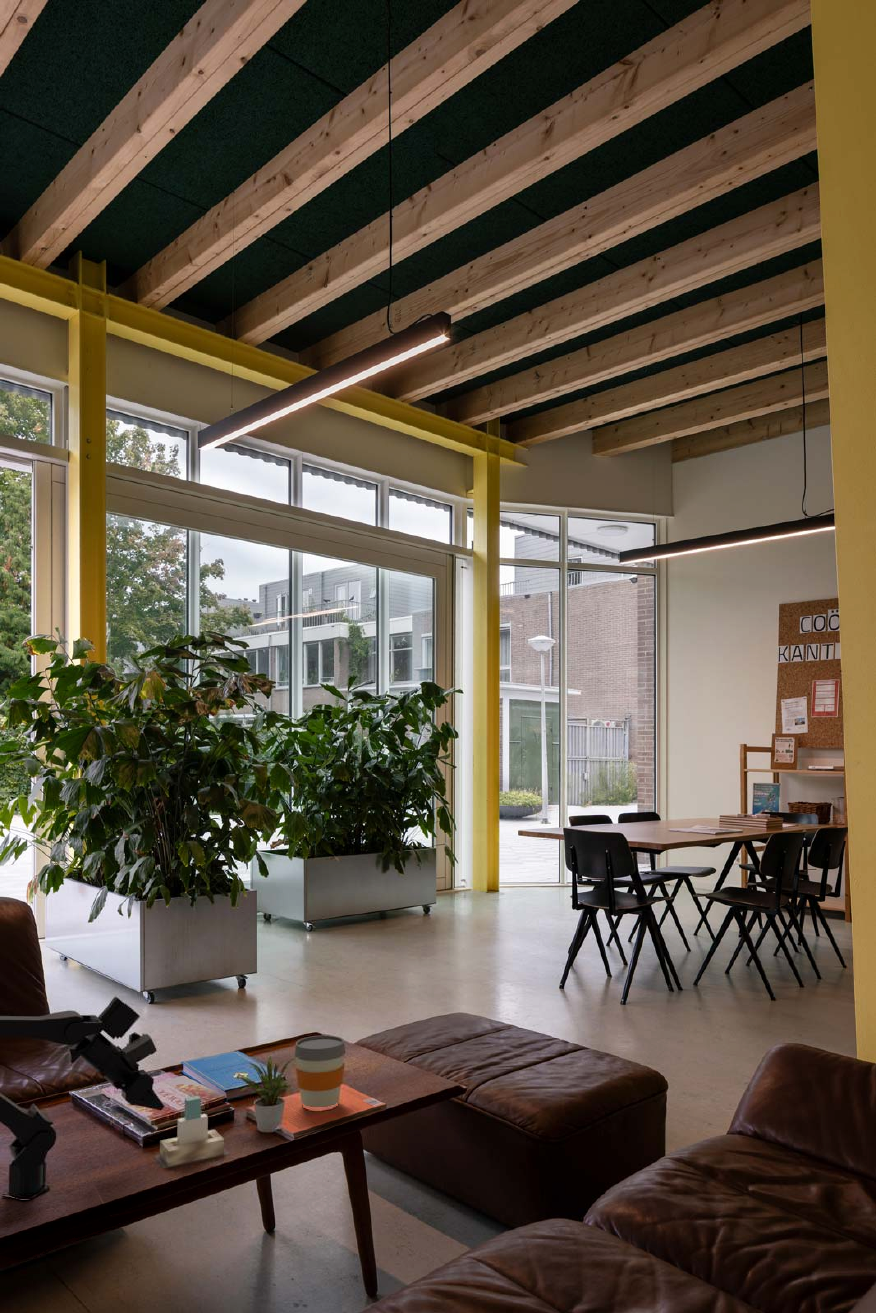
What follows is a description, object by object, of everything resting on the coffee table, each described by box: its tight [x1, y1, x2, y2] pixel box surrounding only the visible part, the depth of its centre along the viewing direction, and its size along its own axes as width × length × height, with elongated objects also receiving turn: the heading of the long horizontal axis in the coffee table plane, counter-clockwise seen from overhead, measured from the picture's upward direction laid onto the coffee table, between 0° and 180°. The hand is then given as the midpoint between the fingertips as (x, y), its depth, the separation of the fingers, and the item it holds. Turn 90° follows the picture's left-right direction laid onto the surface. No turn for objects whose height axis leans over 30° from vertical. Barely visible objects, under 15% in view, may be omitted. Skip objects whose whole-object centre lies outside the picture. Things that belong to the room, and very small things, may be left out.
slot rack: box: [159, 1129, 225, 1168], centre depth 208 cm, size 12×7×3 cm, turn 120°
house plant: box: [236, 1053, 300, 1133], centre depth 225 cm, size 14×14×16 cm
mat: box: [154, 1147, 230, 1170], centre depth 208 cm, size 14×8×1 cm, turn 120°
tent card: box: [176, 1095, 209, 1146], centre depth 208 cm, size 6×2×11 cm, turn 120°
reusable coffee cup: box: [294, 1035, 346, 1107], centre depth 239 cm, size 13×12×15 cm
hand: (156, 1101), depth 206 cm, fingers open, 9 cm apart
